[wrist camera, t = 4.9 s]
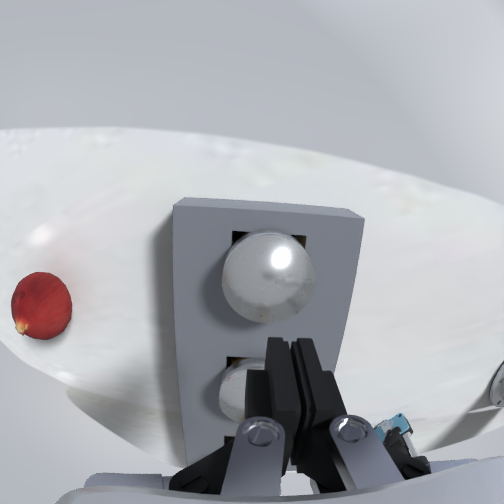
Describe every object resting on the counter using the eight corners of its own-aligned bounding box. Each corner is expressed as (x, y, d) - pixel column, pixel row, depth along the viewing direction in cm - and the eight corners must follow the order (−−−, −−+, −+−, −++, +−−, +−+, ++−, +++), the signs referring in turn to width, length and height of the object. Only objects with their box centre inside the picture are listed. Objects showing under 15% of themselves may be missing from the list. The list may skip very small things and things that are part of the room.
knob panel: (347, 208, 25) (364, 218, 21) (300, 445, 33) (304, 469, 29) (184, 197, 24) (173, 205, 21) (191, 441, 33) (187, 466, 29)
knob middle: (290, 332, 28) (299, 374, 22) (282, 381, 29) (288, 425, 24) (224, 329, 27) (219, 371, 22) (222, 379, 29) (218, 423, 23)
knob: (303, 219, 25) (321, 239, 19) (296, 288, 26) (308, 324, 21) (229, 214, 25) (223, 233, 19) (225, 284, 26) (220, 320, 20)
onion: (37, 302, 27) (-7, 341, 19) (40, 252, 26) (-11, 283, 18) (83, 324, 28) (45, 370, 20) (89, 273, 26) (44, 313, 19)
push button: (369, 448, 34) (389, 506, 25) (351, 433, 33) (372, 497, 23) (412, 421, 33) (440, 477, 23) (398, 404, 32) (429, 464, 22)
